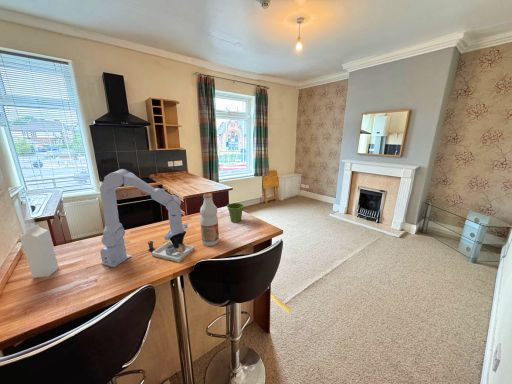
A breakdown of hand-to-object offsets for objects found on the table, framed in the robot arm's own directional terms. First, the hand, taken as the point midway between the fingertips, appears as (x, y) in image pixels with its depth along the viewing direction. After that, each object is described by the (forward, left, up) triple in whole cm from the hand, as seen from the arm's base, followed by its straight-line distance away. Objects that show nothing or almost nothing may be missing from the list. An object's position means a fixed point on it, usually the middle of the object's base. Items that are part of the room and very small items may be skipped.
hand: (178, 246), depth 105 cm
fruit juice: (+16, -9, -4) cm, 19 cm away
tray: (0, +3, -4) cm, 5 cm away
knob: (-2, +16, -4) cm, 17 cm away
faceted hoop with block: (0, +2, -3) cm, 3 cm away
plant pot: (+48, -10, -4) cm, 49 cm away
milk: (-32, +44, -4) cm, 55 cm away
